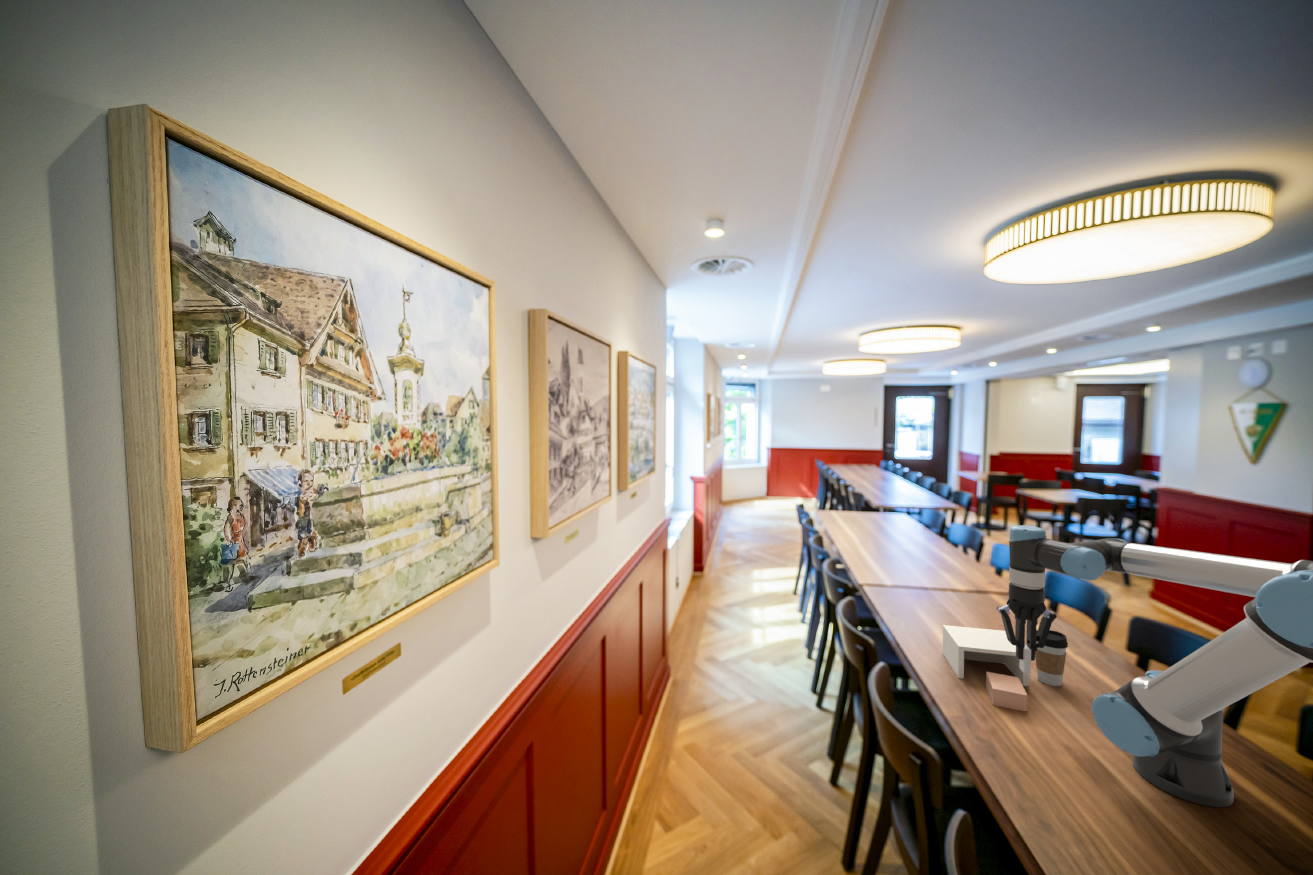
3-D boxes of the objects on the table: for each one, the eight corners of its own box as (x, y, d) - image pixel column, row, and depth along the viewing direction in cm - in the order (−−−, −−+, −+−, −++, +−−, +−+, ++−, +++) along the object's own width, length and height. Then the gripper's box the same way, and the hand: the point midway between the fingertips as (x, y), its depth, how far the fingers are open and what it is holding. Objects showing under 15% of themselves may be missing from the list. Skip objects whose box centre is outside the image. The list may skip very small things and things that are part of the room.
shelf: (1028, 686, 143) (1029, 653, 143) (958, 677, 148) (958, 646, 148) (1005, 660, 158) (1006, 630, 158) (942, 653, 164) (942, 624, 163)
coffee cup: (1074, 689, 141) (1074, 640, 140) (1042, 686, 143) (1042, 638, 142) (1056, 674, 149) (1057, 628, 149) (1026, 672, 151) (1026, 626, 150)
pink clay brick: (1027, 712, 131) (1027, 695, 131) (992, 705, 134) (992, 688, 134) (1018, 693, 140) (1018, 677, 140) (986, 687, 143) (986, 671, 143)
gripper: (1048, 581, 126) (1046, 666, 127) (992, 577, 130) (991, 660, 131) (1063, 591, 119) (1061, 681, 120) (1004, 587, 123) (1002, 674, 123)
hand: (1025, 670), depth 125 cm, fingers closed
